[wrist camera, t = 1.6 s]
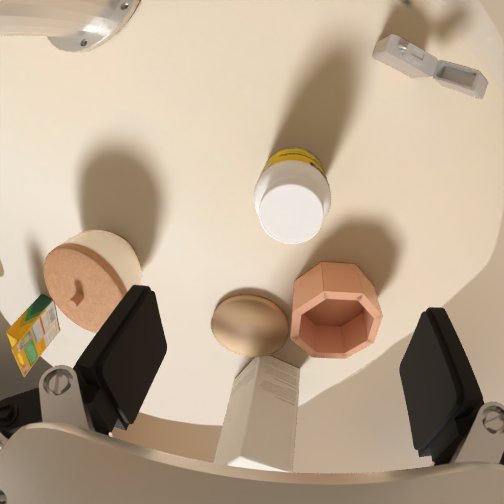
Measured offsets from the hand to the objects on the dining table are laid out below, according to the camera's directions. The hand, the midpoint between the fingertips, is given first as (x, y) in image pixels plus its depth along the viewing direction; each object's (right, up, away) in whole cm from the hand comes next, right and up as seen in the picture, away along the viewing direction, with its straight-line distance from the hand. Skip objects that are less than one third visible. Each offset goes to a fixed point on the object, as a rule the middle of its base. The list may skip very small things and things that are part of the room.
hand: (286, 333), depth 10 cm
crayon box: (-34, -7, +32) cm, 47 cm away
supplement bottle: (+3, +10, +17) cm, 20 cm away
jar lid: (-1, -6, +26) cm, 27 cm away
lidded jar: (-17, +2, +24) cm, 30 cm away
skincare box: (+1, -14, +30) cm, 33 cm away
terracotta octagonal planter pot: (+8, -2, +23) cm, 24 cm away
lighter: (+12, +19, +10) cm, 25 cm away
